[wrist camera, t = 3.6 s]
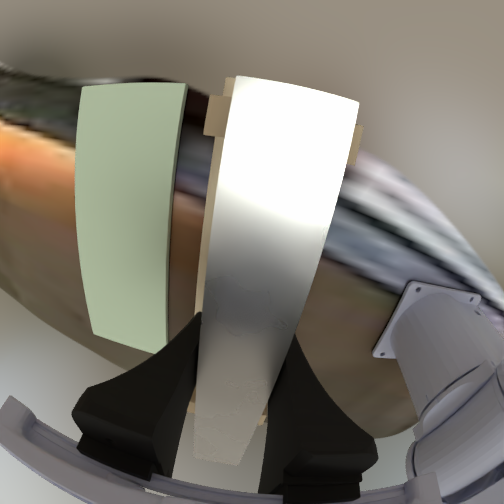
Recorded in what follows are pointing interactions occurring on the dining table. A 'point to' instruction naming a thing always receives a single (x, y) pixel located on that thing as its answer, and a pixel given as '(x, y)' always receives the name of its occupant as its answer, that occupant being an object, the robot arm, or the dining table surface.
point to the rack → (217, 128)
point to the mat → (127, 206)
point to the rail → (263, 249)
